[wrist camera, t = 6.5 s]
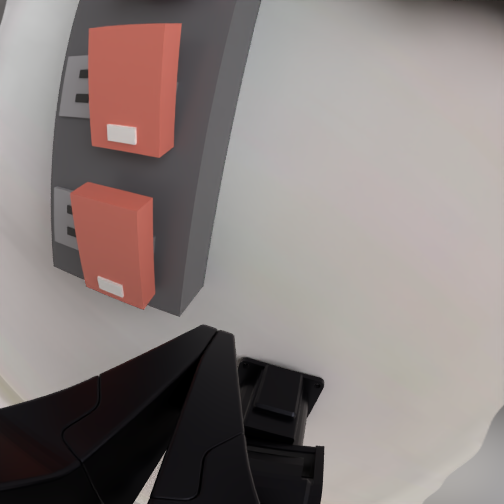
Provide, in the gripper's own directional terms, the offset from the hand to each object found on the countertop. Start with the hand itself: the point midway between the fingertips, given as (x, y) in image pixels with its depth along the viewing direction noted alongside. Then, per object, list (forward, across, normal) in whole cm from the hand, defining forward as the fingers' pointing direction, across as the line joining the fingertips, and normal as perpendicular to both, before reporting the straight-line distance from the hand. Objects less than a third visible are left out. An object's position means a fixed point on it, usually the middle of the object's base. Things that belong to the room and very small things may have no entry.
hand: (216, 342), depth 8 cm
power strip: (+12, +9, -11) cm, 19 cm away
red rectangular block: (+6, +8, +2) cm, 10 cm away
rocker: (+6, +8, -6) cm, 12 cm away
